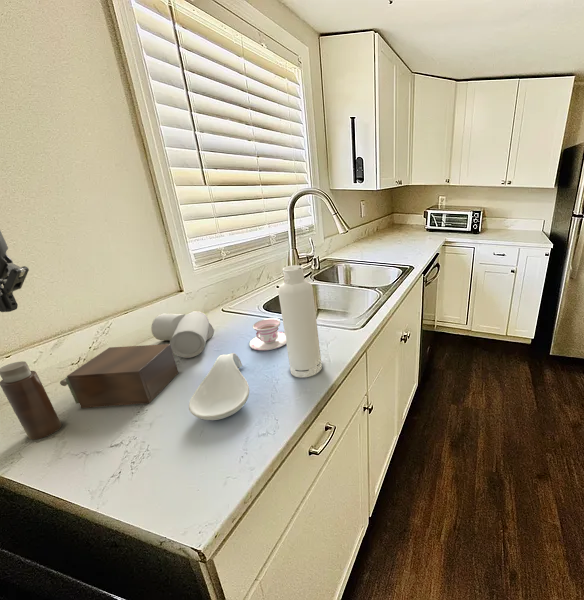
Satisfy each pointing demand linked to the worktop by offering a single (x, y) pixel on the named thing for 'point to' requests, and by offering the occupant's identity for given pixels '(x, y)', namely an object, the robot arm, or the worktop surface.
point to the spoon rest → (220, 390)
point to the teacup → (267, 335)
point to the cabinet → (124, 376)
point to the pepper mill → (29, 400)
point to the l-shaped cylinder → (183, 332)
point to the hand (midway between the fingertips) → (9, 310)
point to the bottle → (299, 322)
